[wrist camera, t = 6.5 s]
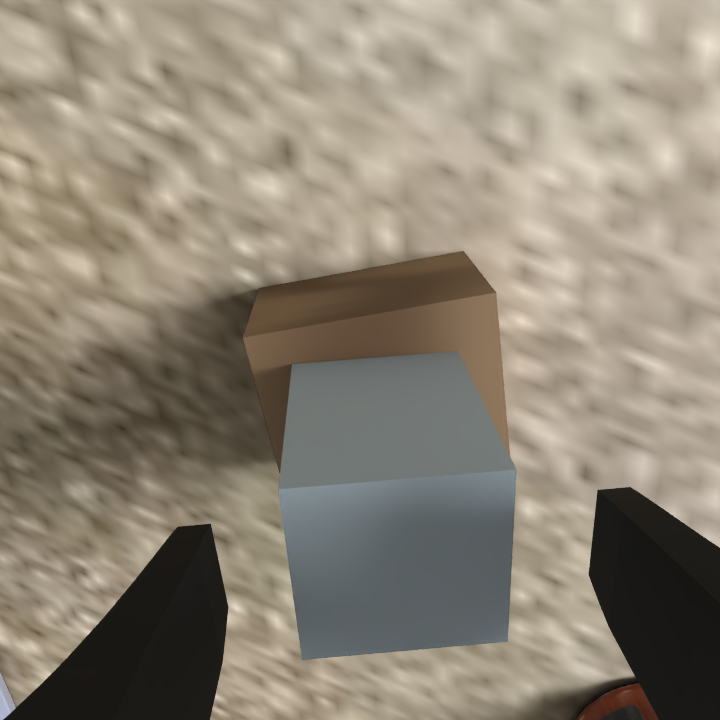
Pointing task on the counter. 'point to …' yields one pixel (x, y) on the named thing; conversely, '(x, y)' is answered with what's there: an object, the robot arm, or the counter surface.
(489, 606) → the blue block
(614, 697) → the supplement bottle
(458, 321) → the walnut base
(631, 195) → the counter surface
